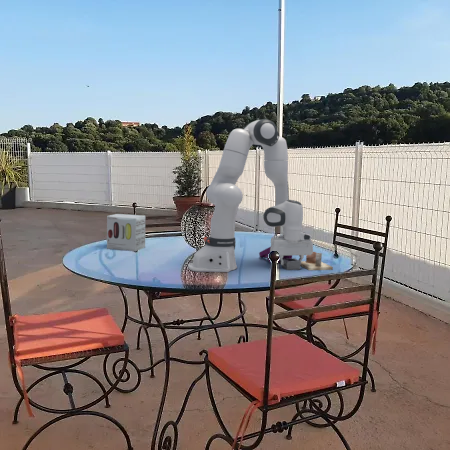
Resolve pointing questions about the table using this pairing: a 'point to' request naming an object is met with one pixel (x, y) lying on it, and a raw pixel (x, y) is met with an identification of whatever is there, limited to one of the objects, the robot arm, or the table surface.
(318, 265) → the post board
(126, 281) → the table surface
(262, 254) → the mounting bracket
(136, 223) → the supplement box
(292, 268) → the collar
